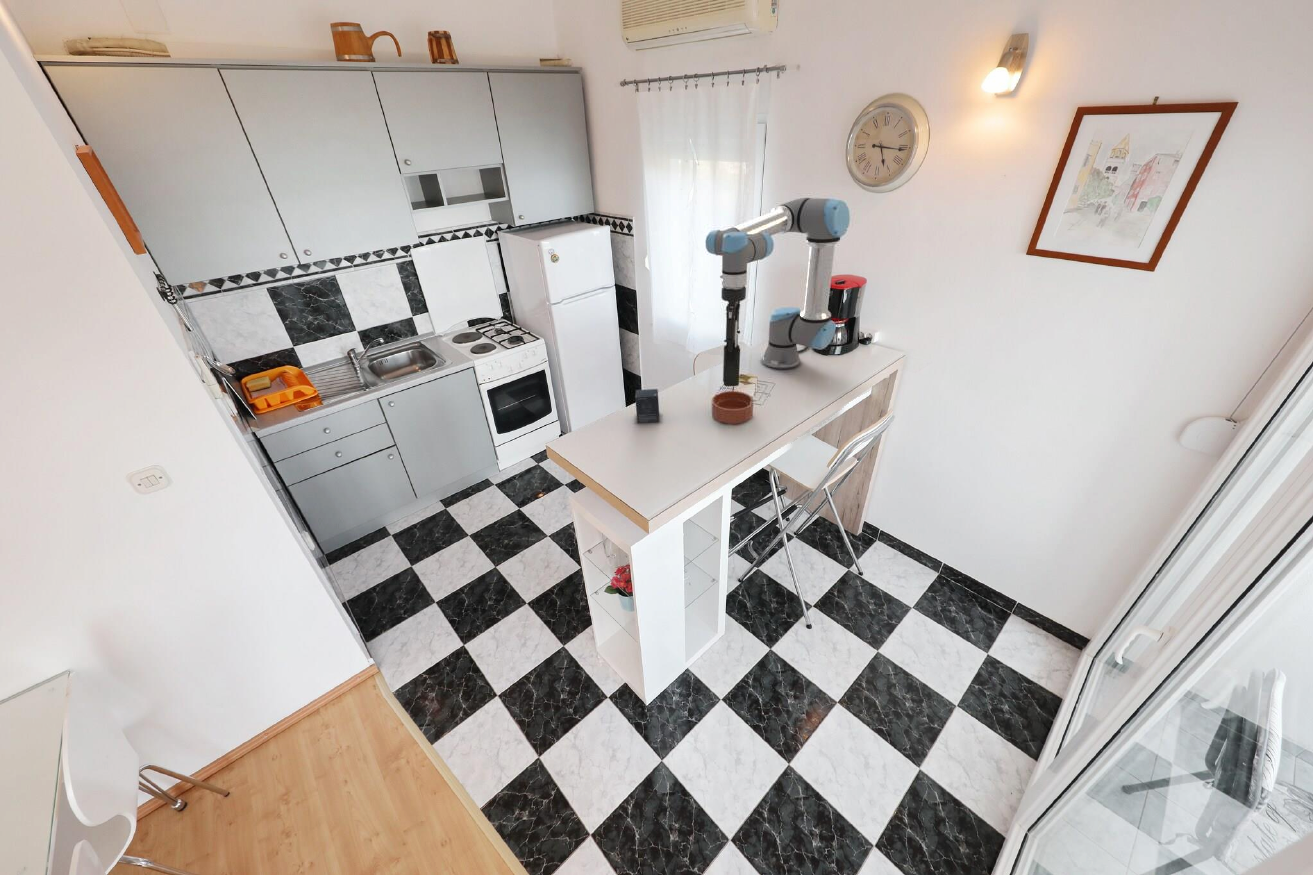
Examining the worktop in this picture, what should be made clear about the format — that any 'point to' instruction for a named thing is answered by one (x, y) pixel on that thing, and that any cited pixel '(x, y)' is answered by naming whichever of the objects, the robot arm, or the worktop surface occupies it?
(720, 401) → the bowl
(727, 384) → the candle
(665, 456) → the worktop surface
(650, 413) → the box
